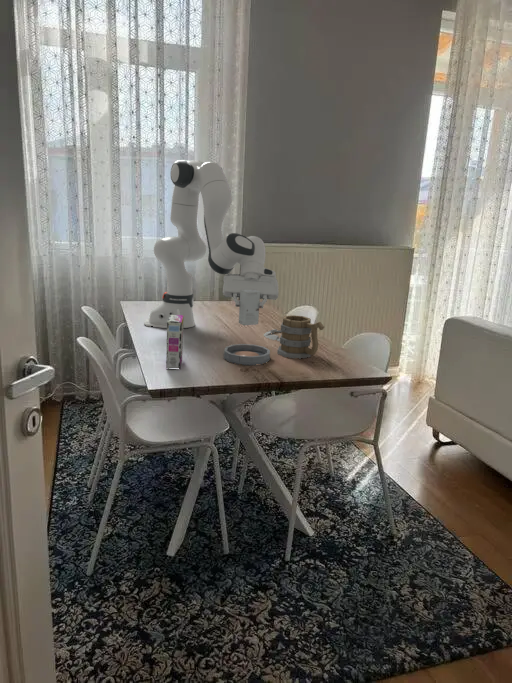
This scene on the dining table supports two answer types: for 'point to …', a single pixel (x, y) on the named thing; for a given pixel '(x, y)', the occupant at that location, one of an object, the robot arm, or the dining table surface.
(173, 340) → the candy bar box
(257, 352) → the round tray
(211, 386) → the dining table surface
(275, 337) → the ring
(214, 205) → the robot arm
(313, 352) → the tankard
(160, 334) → the dining table surface
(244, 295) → the grey upright block
